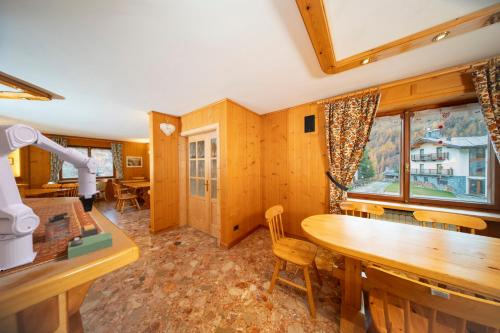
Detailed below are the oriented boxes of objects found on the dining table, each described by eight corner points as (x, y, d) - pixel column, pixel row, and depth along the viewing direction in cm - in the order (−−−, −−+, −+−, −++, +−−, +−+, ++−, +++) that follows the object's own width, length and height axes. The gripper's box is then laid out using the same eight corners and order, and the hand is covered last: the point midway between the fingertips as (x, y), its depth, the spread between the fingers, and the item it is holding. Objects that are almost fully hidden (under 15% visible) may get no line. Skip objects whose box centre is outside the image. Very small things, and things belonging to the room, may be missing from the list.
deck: (68, 259, 51) (67, 246, 51) (69, 245, 59) (69, 234, 59) (112, 245, 59) (112, 234, 59) (108, 235, 68) (107, 226, 68)
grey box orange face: (82, 241, 63) (82, 230, 63) (81, 236, 67) (80, 226, 67) (97, 237, 66) (97, 226, 66) (95, 233, 71) (95, 223, 71)
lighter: (50, 241, 63) (49, 217, 63) (42, 242, 63) (41, 217, 63) (73, 233, 71) (72, 211, 71) (66, 233, 71) (65, 211, 71)
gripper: (100, 182, 70) (101, 212, 70) (97, 180, 80) (98, 206, 80) (77, 184, 65) (78, 216, 65) (77, 182, 75) (78, 210, 75)
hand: (88, 211), depth 72 cm, fingers closed
